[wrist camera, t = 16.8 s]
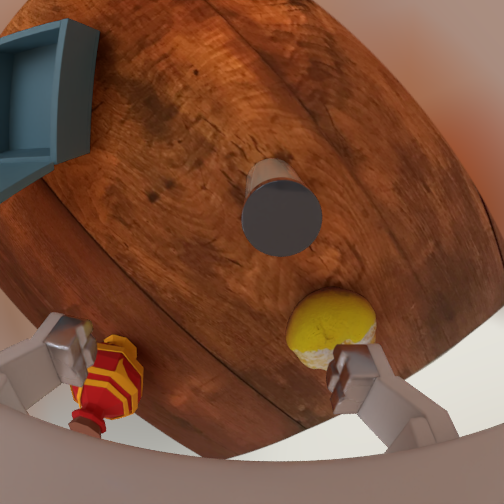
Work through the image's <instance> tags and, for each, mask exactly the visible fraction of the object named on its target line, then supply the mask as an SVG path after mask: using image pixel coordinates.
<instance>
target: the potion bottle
mask: <svg viewBox="0 0 504 504" xmlns="http://www.w3.org/2000/svg"><path fill="white" fill-rule="evenodd" d="M136 358H137V348H136V347H135V346H134V345H133V344H132V343H131V342H130V341H129V340H128V339H127V338H125V337H121V336H117V335H111V336H109V337H108V338H106V339H104V342H102V343H97V356H96V360H95V362H94V364H93V365H92V366H91V367H89V368H87V370H88V376H87V379H86V381H85V383H84V385H83V387H82V388H81V387H77V386H73V385H70V388H71V391H72V395H73V399H74V401H75V402H77V403H78V404H79V407H80V409H77V410H74V411H73V412H72V417H73V420H72V421H71V422H70V423H69V424H68V425H69V427H70V429H71V430H73V431H76V432H79V433H83V434H86V435H89V436H93V437H97V438H100V439H101V433H104V432H106V426H105V422H104V420H103V418H106V419H110V420H114V419H119V418H122V417H126V416H128V415H131V414H133V413H134V412H135V411H136V409H137V406H138V402H139V401H140V399H141V396H142V390H143V366H142V365H141V364H140V363H139V362H138V361H137V360H136ZM81 406H82V408H81Z"/></svg>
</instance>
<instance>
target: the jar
mask: <svg viewBox="0 0 504 504" xmlns="http://www.w3.org/2000/svg"><path fill="white" fill-rule="evenodd" d="M241 221H242V228H243V231H244V234H245V236H246V238H247V239H248V241H249V242H250V243H251V244H252V245H253V246H254V247H255V248H256V249H258V250H259V251H261V252H263V253H265V254H268V255H271V256H278V257H284V256H291V255H294V254H297V253H299V252H301V251H303V250H305V249H306V248H307V247H308V246H310V245H311V244H312V242H313V241H314V240H315V239H316V237H317V235H318V233H319V231H320V228H321V225H322V210H321V206H320V204H319V201H318V199H317V198H316V196H315V195H314V193H313V192H312V191H311V190H310V189H309V188H308V187H307V186H306V185H305V184H304V183H303V182H302V180H301V179H300V177H299V176H298V175H297V173H296V172H295V171H294V169H293V168H292V167H291V166H290V165H289V164H288V163H286V162H285V161H282V160H280V159H273V158H272V159H265V160H262V161H260V162H258V163H257V164H255V165H254V166H253V167H252V168H251V170H250V171H249V173H248V176H247V179H246V191H245V202H244V204H243V208H242V217H241Z"/></svg>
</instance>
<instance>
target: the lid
mask: <svg viewBox="0 0 504 504" xmlns="http://www.w3.org/2000/svg"><path fill="white" fill-rule="evenodd" d="M53 170H54V162H53V161H52V162H19V163H0V204H1V203H2V202H3V201H5V200H6V199H8V198H9V197H11V196H12V195H14V194H15V193H17V192H19V191H20V190H22V189H23V188H25V187H26V186H28V185H30V184H31V183H33V182H34V181H36V180H38V179H39V178H41V177H43V176H44V175H46V174H48V173H50V172H51V171H53Z"/></svg>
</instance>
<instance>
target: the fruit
mask: <svg viewBox="0 0 504 504" xmlns="http://www.w3.org/2000/svg"><path fill="white" fill-rule="evenodd" d="M376 326H377V323H376V315H375V312H374V310H373V308H372V306H371V305H370V303H369V302H368V301H367V299H365V298H364V297H363V296H361V295H360V294H357V293H356V292H353V291H350V290H347V289H341V288H338V287H324V288H322V289H320V290H318V291H316V292H313V293H311V294H309V295H308V296H306V297H305V298H304V299H303V300H301V301H300V302H299V304H297V306H296V308H295V309H294V311H293V312H292V314H291V316H290V318H289V321H288V325H287V328H286V342H287V345H288V347H289V348H290V349H291V350H292V351H293V352H294V353H295V354H296V356H297V357H298V358H299V359H300V361H301V362H302V363H303V364H304V365H306V366H307V367H309V368H312V369H320V368H321V369H323V370H326V371H327V368H328V365H329V362H331V361H332V360H333V359H334V356H333V350H334V348H335V346H336V345H337V344H375V340H376V337H375V336H376V333H375V331H376Z"/></svg>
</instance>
